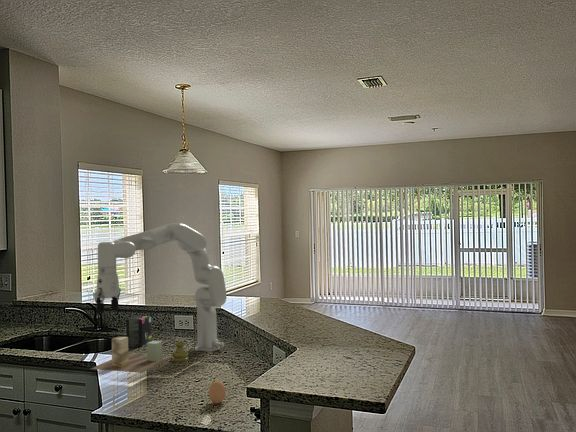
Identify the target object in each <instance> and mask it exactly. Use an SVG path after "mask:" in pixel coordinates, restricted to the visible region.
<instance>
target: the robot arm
mask: <svg viewBox="0 0 576 432" xmlns="http://www.w3.org/2000/svg"><path fill="white" fill-rule="evenodd" d="M172 242H177V243H176V244H177V246H178V248H179V249H180V250H182V251H185V252H186V253H187V254H188V255H189V257H190V259H191V263H192V270H193V275H194V280H195V282H196V283H198V284H200V285H202V286H200V287H198V288H197V289H196V290H195V293H194V300H195V305H196V306H195V307H196V314H197V315H196V316H197V317H196V318H197V322H196V323H197V345H196V346H195V347H194V350H195V351H197V352H198V351H199V352H216V351H219V350H220V349H221V348H224V347H225V342H223V341H220V340H219V339H218V336H217V335H218V332H217V330H218V328H217V326H218V325H217V324H218V323H217V309H216V307H218V308H219V307H221V306H224V304H225V303H226V301H227V295H228V294H227V288H226V282H225V281H226V280H225V277H224V273H223V271H222V269H221V268H220V267H219V266H217V265H211V262H210V258H209V254H208V253H209V252H208V251H207V249H206V247H207V243H208V241H207V238H206V237H205V235H203V234H202V233H200V232H199V231H197V230H195V229H193V228H191V227H189V226H188V225H186V224H184V223H180V222H179V223H178V222H177V223H173V222H172V223H167V224H163V225H160V226H158V227H155V228H152V229H149V230H145V231H141V232H138V233H135V234H131V235H128V236H127V235H126V236H123V237H121V238H118V239H115V240H113V241H101V242H99V243H98V244H97V277H96V290H95V292H93V295H92V296H93V298H94V301H95V304H96V312H97V314H104V313H105V303H104V301H105V299H111V300H110V304H111V305H110V307H111V308H110V309H112V310H119V299H120V295H121V294H120V293H121V292H122V291H121V290H122V289H121V288H120V281H119V275H118V273H117V259H119V258H120V259H129V258H131V257H133V256H135V254H136V252H138V251H145V250H152V249H156V248H158V247H162V246H163V245H166V244H169V243H172Z"/></svg>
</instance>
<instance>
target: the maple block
mask: <svg viewBox="0 0 576 432" xmlns="http://www.w3.org/2000/svg"><path fill="white" fill-rule="evenodd" d="M128 353H129V347H128V337H127V336H116V337H114V338H113V337H112V338H111V360H112V366H113V367H123V366H126V365H128V364H129V358H128Z"/></svg>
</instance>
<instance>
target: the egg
mask: <svg viewBox="0 0 576 432" xmlns="http://www.w3.org/2000/svg"><path fill="white" fill-rule="evenodd" d="M226 392H227V391H226V387H225V385H224V384H223V382H222V381H220V380H215V381H213V382H212V383H211V384H210V385H209V388H208V398H209V400H210V401H211V403H214V404H220V403H222V402H223V401H224V400H225V398H226V394H227V393H226Z"/></svg>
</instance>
